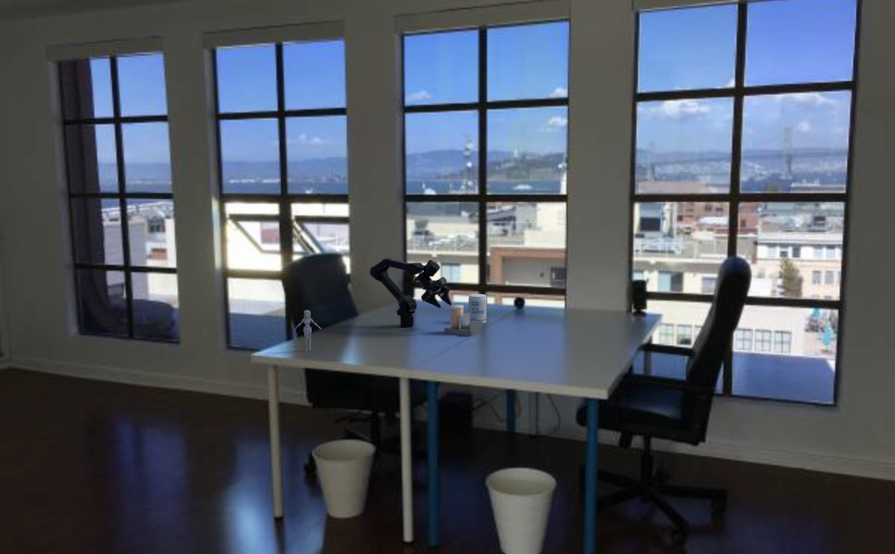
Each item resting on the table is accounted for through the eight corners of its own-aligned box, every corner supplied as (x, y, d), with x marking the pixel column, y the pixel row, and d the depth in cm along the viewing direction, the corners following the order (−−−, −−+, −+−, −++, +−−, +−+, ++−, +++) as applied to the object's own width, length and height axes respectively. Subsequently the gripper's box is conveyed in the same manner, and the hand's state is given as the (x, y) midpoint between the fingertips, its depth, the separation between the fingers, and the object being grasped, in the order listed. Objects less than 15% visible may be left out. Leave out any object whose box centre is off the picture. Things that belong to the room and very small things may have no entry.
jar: (452, 333, 345) (451, 307, 344) (449, 330, 352) (449, 304, 350) (465, 332, 347) (465, 306, 345) (462, 330, 353) (462, 304, 351)
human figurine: (294, 351, 314) (292, 311, 311) (295, 349, 317) (293, 310, 315) (321, 350, 315) (320, 310, 313) (322, 348, 319) (320, 309, 316)
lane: (444, 333, 347) (444, 320, 346) (456, 329, 356) (456, 317, 355) (470, 337, 339) (470, 323, 338) (482, 333, 348) (482, 320, 347)
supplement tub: (471, 324, 368) (471, 297, 366) (465, 321, 377) (465, 294, 375) (489, 323, 371) (489, 295, 369) (483, 320, 380) (482, 293, 378)
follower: (459, 333, 344) (458, 315, 343) (468, 330, 351) (468, 312, 349) (460, 333, 343) (460, 315, 342) (469, 330, 350) (469, 312, 349)
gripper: (425, 274, 344) (444, 298, 340) (446, 270, 360) (465, 293, 355) (412, 289, 350) (431, 313, 345) (434, 284, 365) (452, 307, 361)
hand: (445, 306), depth 351 cm, fingers open, 9 cm apart
